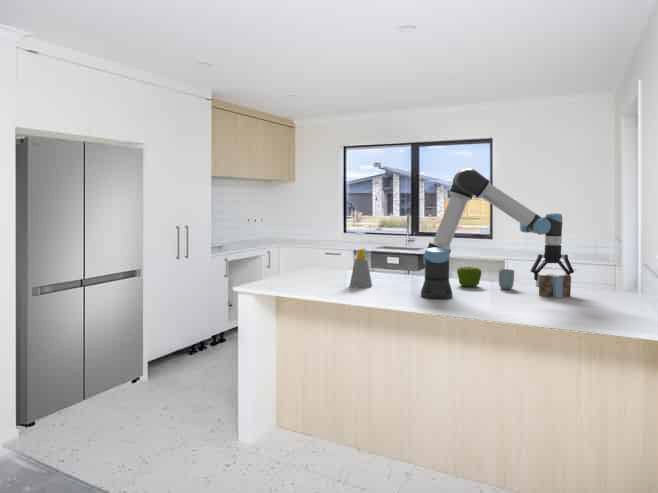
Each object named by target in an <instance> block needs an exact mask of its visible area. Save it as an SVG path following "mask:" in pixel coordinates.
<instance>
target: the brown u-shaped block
mask: <svg viewBox="0 0 658 493" xmlns="http://www.w3.org/2000/svg"><path fill="white" fill-rule="evenodd" d="M558 276H560V277H563V293H562V298H563V297H566V298H567V297H569V298H571V293H572V292H571V287H572V275H570V276H569V275H564V274H563V275H562V274H561V275H558ZM551 277H552V276H550V275H547V274H544V275H543V274H540V275H539V287H538V296H539V297H553V286H551Z"/></svg>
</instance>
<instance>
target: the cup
mask: <svg viewBox="0 0 658 493" xmlns="http://www.w3.org/2000/svg"><path fill="white" fill-rule="evenodd" d="M514 283H515V270H513V269H505V268H504V269H503V268H502V269H501V268H500V269H499V270H498V286H499V288H500V289H502V290H511V289H512V288H513V287H514V285H515V284H514Z"/></svg>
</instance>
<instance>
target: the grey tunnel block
mask: <svg viewBox="0 0 658 493" xmlns="http://www.w3.org/2000/svg"><path fill="white" fill-rule="evenodd" d="M546 275H550V276H552V277H551V286H553V296H552V297H553V298H555V299H563V297H562V293H563V277H560V276H559V275H558V274H554V273H547V274H546Z"/></svg>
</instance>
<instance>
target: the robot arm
mask: <svg viewBox="0 0 658 493" xmlns="http://www.w3.org/2000/svg"><path fill="white" fill-rule="evenodd" d="M449 194H450V198H449V200H448V202H447V205H446V207H445V210H444V213H443V215H442V218H441V220H440V223H439V226H438V229H436V233H435V235H434V238H433V240H431V241H429V243H428V246H427V247H426V248H427V249H426V250H425V251H424V253H423V255H422V262H423V264H424V281H423V284H422V287H421V290H420V296H421V298H425V299H430V300H431V299H432V300H446V299H452V298H453V289H452V287H451V284H450V258H451V253H452V248H451V243H452V242H453V238H454V237H455V234H456V231H457V228H458V226H459V224H460V221H461V219H462V217H463V213H464V211H465V208H466V207H467V205H468V204H467V203H468V202H470V201H471V200H472V199H473V198H474V197H476V198H478V199H479V198H481V199H483V200H484V201H486V202H488V203H489V204H491V206H494V207H495V208H496V209H498V210H500V211H501V212H503V213H505V215H507V216H509V217H510V218H512V219H514V220H515V221H516V222H518V223H519V230H520V232H521V233H528V234H529V233H532V234H536V235H539V236H541V235H544V236H545V237H544V244H545V245H544V254H542V253H538V254H537V257H536V260H535V261H534V263H533V265H532V266H531V268H530V272H531V273H533V275H534V276H533V279H534V281H535V287H536V288H539V275H541V274H540V272H541V271H542V270H543V269H544V268H545V267H546V266H547V265H548V264H558V265H559V267H560V269H562V270H563V271H564V273H563V275H569V276H571V274H574V272H575V270H574V269H573V267H572V265H571V262H570V260H569V256H568V254H566V253H564V254H562V245H561V244H562V233H563V223H564V222H563V215H562V214H561V213H556V212H555V213H551V212H550V213H548V212H547V213H545V217H544V216H543V217H542V216H540V215H538V214H537V213H536V212H534V211H533V210H531V209H530V208H528V207H527V206H525V205H523V204H522V203H521V202H519V201H517V200H516V199H514V198H513V197H512V196H510V195H508V194H507V193H505V192H503V191H502V190H501V189H499V188H497V187H496V186H495V185H493V184H491V180H489V179H488V178H487V177H485V176H484V175H483V174H481V173H480V172H478V170H476V169H473V168H464V169H462V170H459V171H458V172H457V173H455V175H454V176H453V179H452V185H451V187H450V189H449ZM542 259H544V260H543V261H542ZM561 259H563V261H564V263H565V265H566V266H565V265H564V264H563V261H561ZM541 261H542V263H541Z"/></svg>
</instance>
